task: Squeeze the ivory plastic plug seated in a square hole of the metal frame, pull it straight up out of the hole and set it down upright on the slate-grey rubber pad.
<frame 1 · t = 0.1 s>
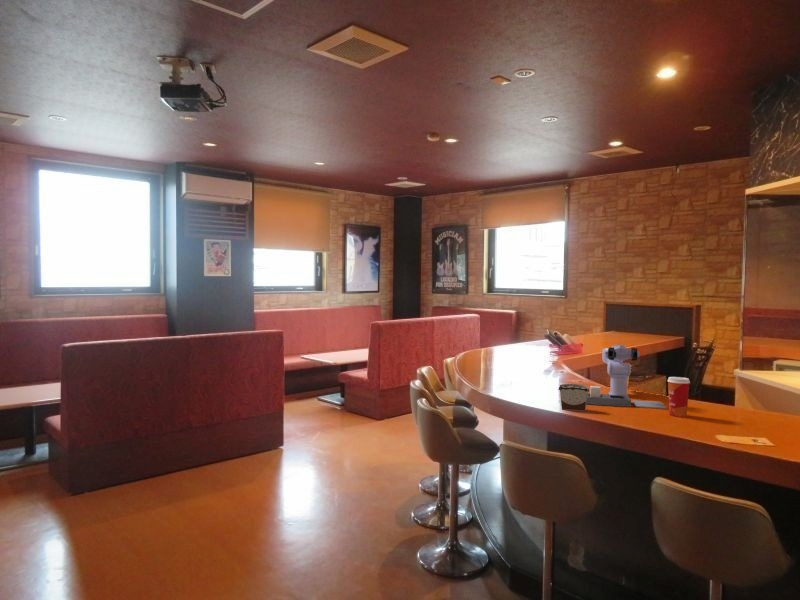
hand: (624, 354, 237), 22 cm above the table, tool horizontal, fingers open, 7 cm apart
rubber pad: (648, 405, 235), on the table
coffee cup: (677, 415, 217), on the table
metal frame: (604, 403, 239), on the table
ivory plug: (595, 402, 240), resting in metal frame
food container: (573, 409, 227), on the table
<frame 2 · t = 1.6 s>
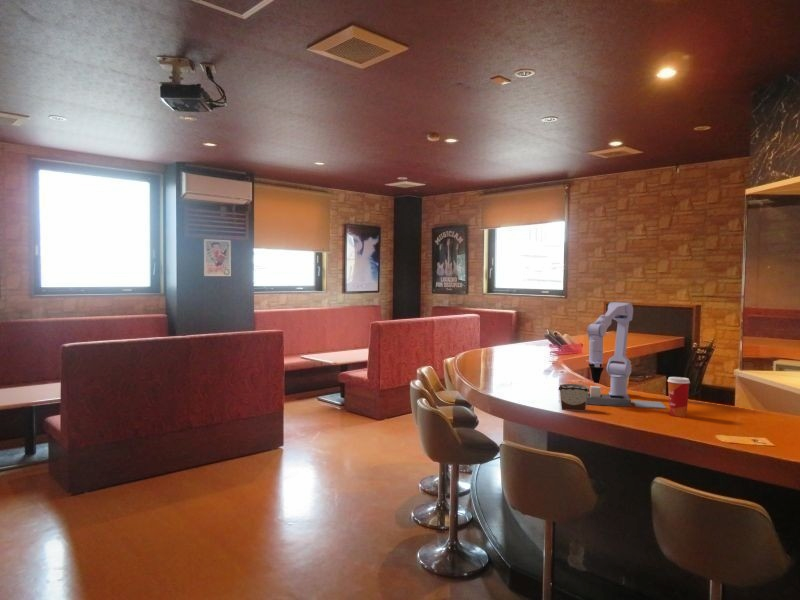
hand: (595, 381, 240), 9 cm above the table, tool pointing down, fingers open, 7 cm apart
nothing on the table moved.
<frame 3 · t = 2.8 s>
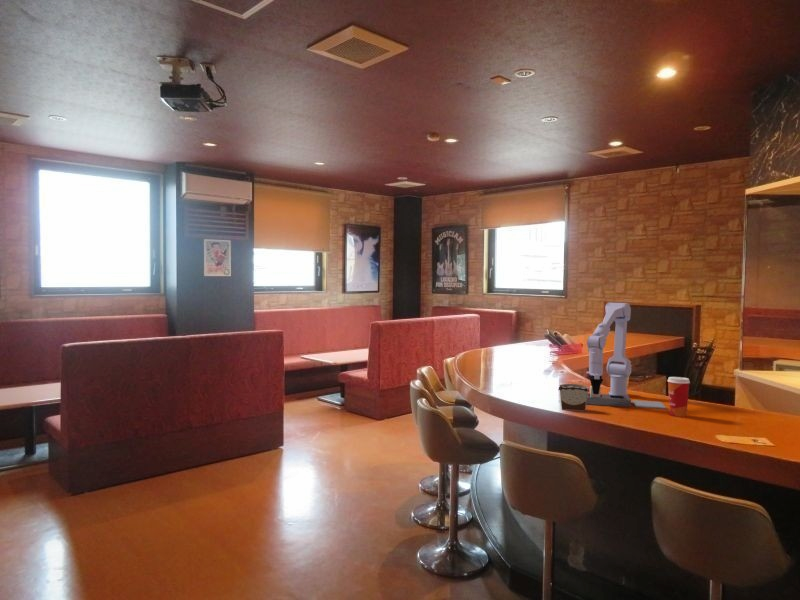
hand: (595, 393, 240), 4 cm above the table, tool pointing down, fingers closed on ivory plug, 4 cm apart
ivory plug: (595, 402, 240), resting in metal frame, touching gripper
everything else where it was.
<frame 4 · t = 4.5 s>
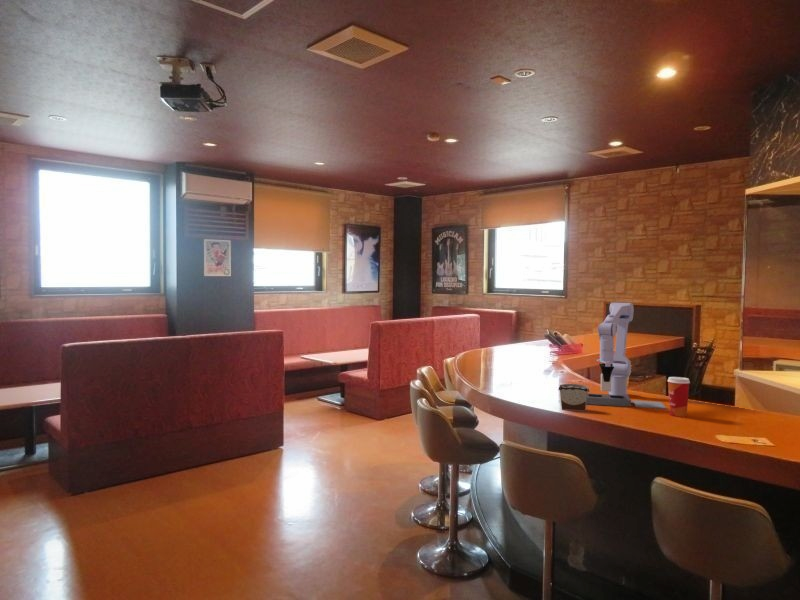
hand: (606, 380, 239), 10 cm above the table, tool pointing down, fingers closed on ivory plug, 4 cm apart
ivory plug: (605, 390, 239), point 6 cm above the table, touching gripper
everything else where it was.
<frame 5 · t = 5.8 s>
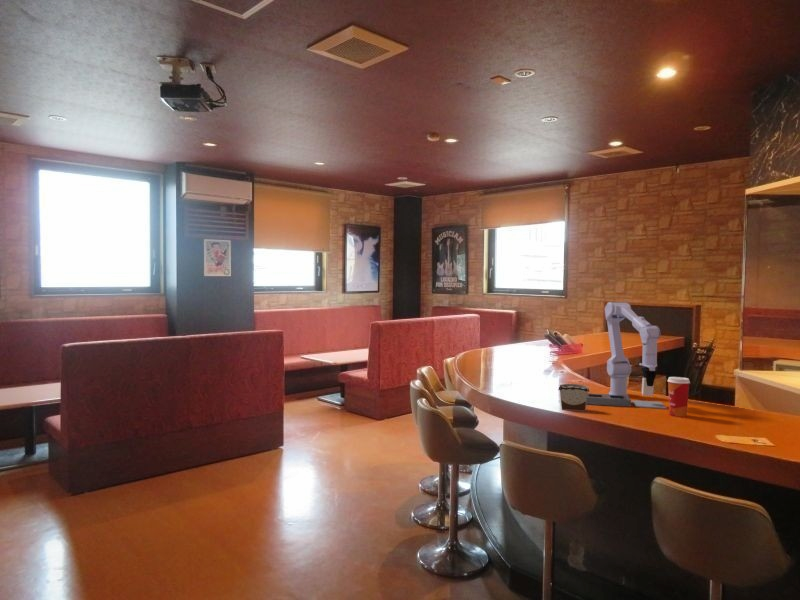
hand: (649, 385, 235), 9 cm above the table, tool pointing down, fingers closed on ivory plug, 4 cm apart
ivory plug: (647, 394, 235), point 5 cm above the table, touching gripper
everything else where it was.
when the fingers open (6 cm above the table, at t = 6.6 s): ivory plug drops 1 cm, resting on rubber pad.
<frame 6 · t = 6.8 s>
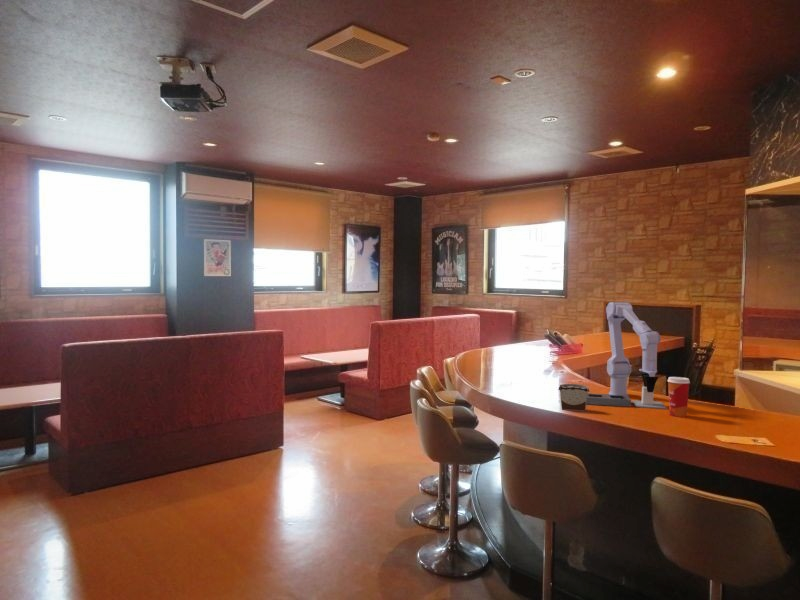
hand: (648, 390, 235), 6 cm above the table, tool pointing down, fingers open, 6 cm apart
ivory plug: (647, 403, 235), point 1 cm above the table, touching rubber pad
everything else where it was.
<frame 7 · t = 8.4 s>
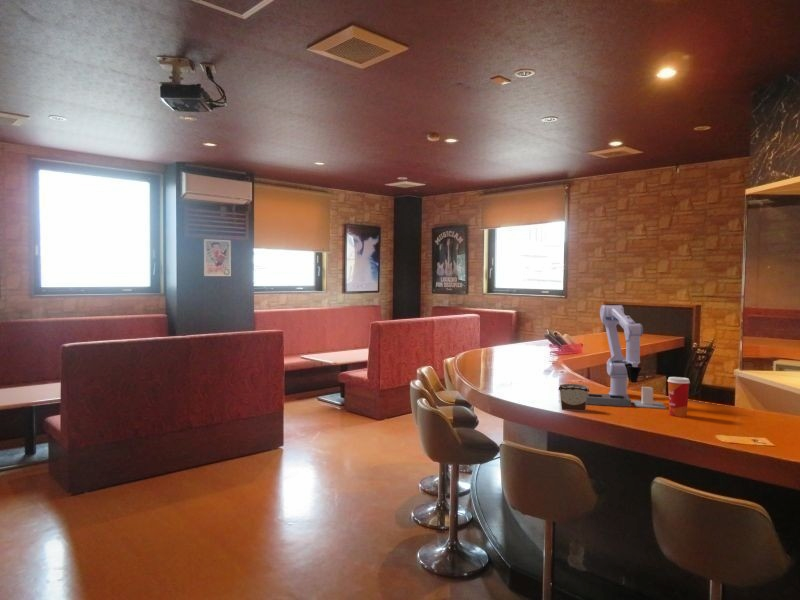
hand: (632, 381, 241), 9 cm above the table, tool pointing down, fingers open, 7 cm apart
nothing on the table moved.
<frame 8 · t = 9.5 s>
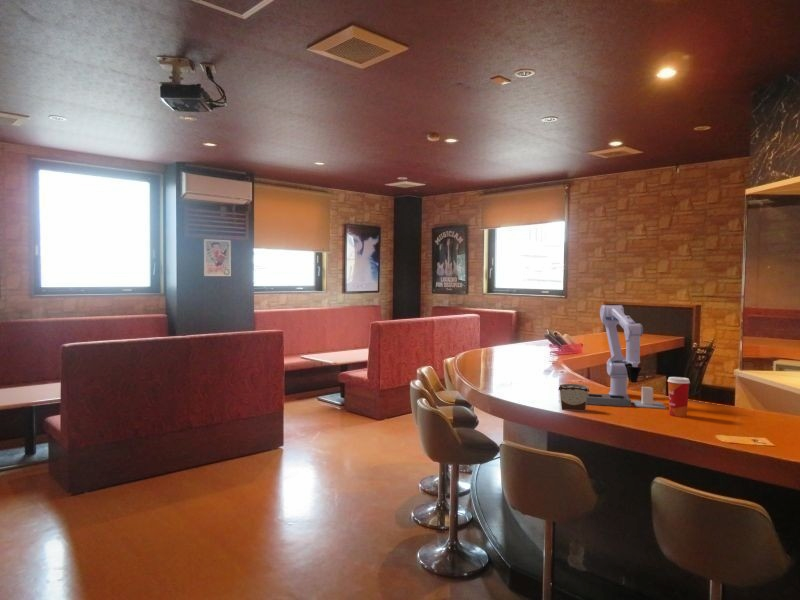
hand: (632, 381, 241), 9 cm above the table, tool pointing down, fingers open, 7 cm apart
nothing on the table moved.
at the end: ivory plug inside the target area on the rubber pad (0.6 cm from its centre), point 0.6 cm above the rubber pad's base; ivory plug tilted 0°; the gripper is holding nothing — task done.
